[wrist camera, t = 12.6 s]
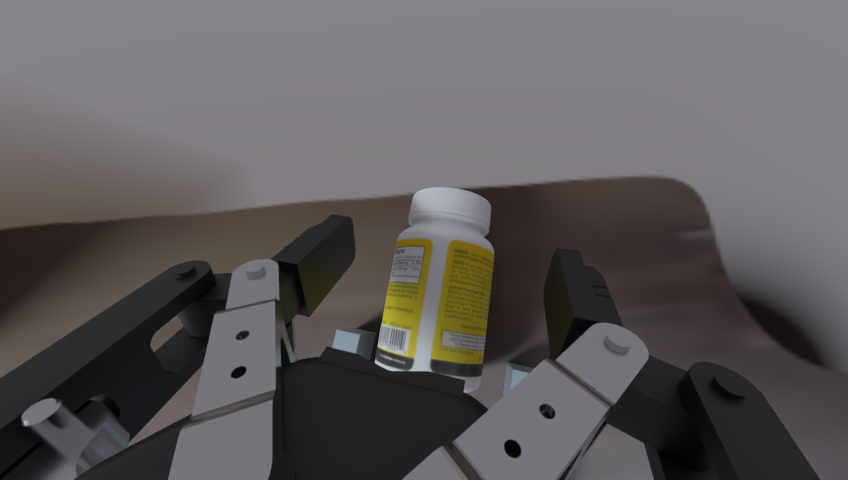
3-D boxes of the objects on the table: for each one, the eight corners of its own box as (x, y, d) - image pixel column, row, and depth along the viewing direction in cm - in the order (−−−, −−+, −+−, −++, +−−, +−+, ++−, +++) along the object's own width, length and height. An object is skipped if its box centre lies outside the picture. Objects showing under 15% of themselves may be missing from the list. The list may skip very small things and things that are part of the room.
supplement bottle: (479, 380, 15) (497, 222, 17) (480, 405, 11) (505, 187, 13) (388, 361, 16) (415, 213, 18) (354, 376, 12) (395, 177, 14)
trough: (507, 587, 13) (515, 646, 11) (311, 515, 15) (280, 552, 13) (531, 367, 15) (542, 376, 13) (355, 328, 17) (336, 329, 15)
